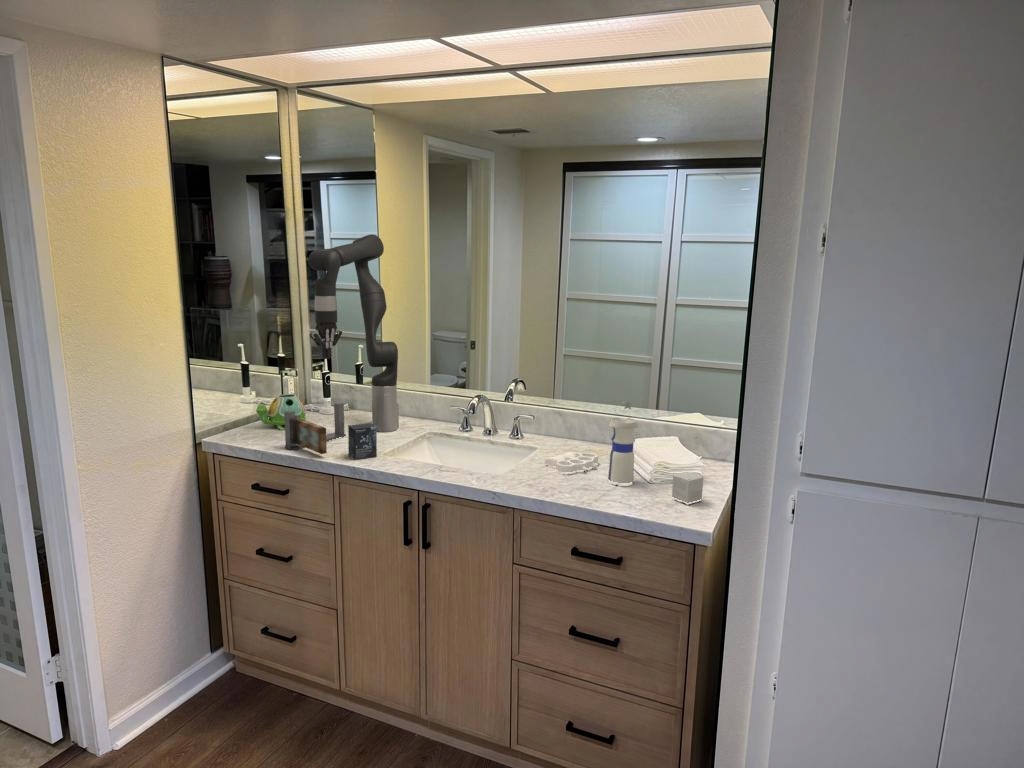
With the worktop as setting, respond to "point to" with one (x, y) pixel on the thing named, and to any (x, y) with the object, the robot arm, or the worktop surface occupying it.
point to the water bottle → (622, 449)
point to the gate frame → (339, 432)
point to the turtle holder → (281, 410)
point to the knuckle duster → (573, 461)
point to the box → (362, 441)
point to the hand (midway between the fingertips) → (327, 358)
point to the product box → (687, 487)
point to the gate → (310, 435)
